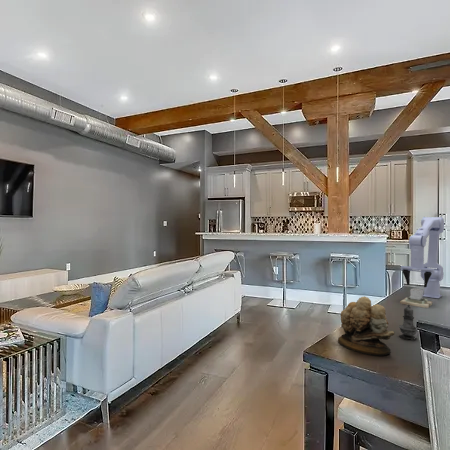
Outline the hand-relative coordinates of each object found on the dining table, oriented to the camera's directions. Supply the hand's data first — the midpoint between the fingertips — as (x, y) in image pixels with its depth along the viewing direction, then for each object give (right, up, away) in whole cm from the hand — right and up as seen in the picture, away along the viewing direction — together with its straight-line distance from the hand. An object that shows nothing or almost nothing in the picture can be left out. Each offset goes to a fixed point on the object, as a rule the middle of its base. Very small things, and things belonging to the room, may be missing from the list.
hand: (416, 285), depth 164 cm
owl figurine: (-51, -10, -57) cm, 77 cm away
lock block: (0, -8, 0) cm, 8 cm away
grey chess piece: (-31, -10, -48) cm, 58 cm away
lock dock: (0, -9, 0) cm, 9 cm away
